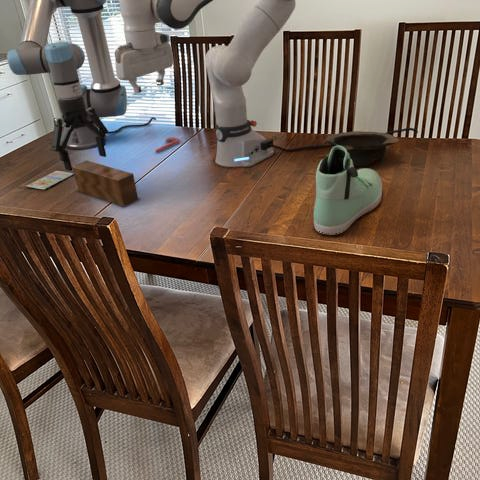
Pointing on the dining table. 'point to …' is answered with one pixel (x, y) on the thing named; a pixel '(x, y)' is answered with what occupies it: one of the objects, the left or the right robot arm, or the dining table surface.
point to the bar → (105, 183)
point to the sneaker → (343, 192)
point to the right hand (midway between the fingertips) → (149, 88)
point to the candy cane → (174, 139)
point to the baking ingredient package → (50, 180)
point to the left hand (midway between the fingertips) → (86, 162)
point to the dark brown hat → (363, 145)
